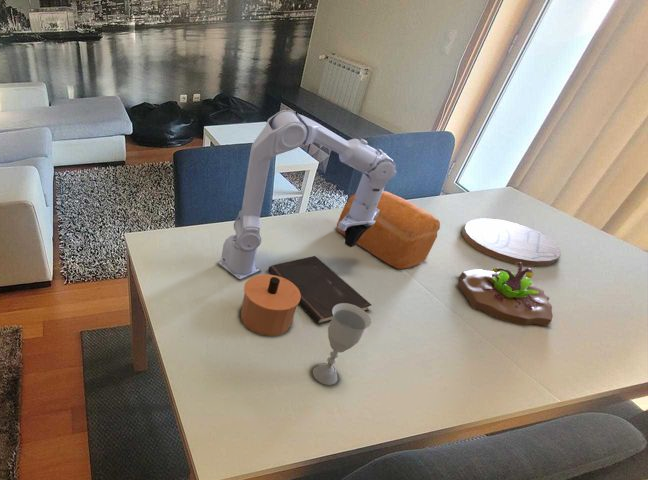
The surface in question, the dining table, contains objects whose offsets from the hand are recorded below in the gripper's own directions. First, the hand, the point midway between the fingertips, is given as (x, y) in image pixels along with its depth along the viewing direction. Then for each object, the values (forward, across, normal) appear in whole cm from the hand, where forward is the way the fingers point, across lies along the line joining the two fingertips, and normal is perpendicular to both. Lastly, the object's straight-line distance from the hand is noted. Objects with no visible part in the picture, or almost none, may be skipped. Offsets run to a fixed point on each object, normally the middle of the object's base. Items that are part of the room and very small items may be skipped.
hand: (349, 244), depth 111 cm
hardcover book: (+10, -13, -2) cm, 16 cm away
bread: (+10, +22, +2) cm, 25 cm away
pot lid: (+1, -32, -2) cm, 33 cm away
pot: (+9, -32, -2) cm, 34 cm away
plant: (+10, +26, -32) cm, 42 cm away
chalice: (+10, -34, -22) cm, 42 cm away
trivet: (+10, +58, -20) cm, 62 cm away
